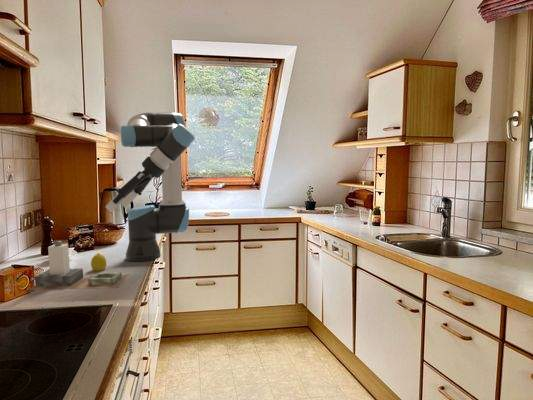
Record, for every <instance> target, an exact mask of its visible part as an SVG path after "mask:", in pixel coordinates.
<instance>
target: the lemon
mask: <svg viewBox="0 0 533 400" xmlns="http://www.w3.org/2000/svg"><path fill="white" fill-rule="evenodd" d="M90 267H91V269H92V271H93V272H102V271H104V270H105V269H106V267H107V259H106V257H105V256H104V255H103V254H100V253H99V252H98V253H97V254H95V255H93V257H92V258H91V261H90Z"/></svg>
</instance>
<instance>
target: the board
mask: <svg viewBox="0 0 533 400" xmlns="http://www.w3.org/2000/svg"><path fill="white" fill-rule="evenodd" d="M132 276H133V274H123V273H122V272H97V273H95V274H94V275H84V268H82V267H81V268H70V272H68V273H67V274H59V275H50V268H49V269H48V270H44V271H43V272H41V273H39V274H37V275H35V276H34V285H33V286H34V287H33V286H32V287H33V288H31V287H30V289H29V288H27V293H28V292H29V294H31V293H33V292H34V291H36V290H77V289H79V290H81V289H82V290H83V289H87V290H88V289H118V288H119V287H120V286H121V285H123V284H124V283H125V282H126V281H128V280H129V279H130V278H131V277H132Z"/></svg>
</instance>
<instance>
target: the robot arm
mask: <svg viewBox="0 0 533 400" xmlns="http://www.w3.org/2000/svg"><path fill="white" fill-rule="evenodd" d="M184 119H185V117H184V116H183V115H182V114H181V113H179V112H143V113H138V114H136V115H133V116H132V117H131V118H129V120H128V121H127V124H126V125H122V126H120V141H121V142H120V143H121V146H122V147H124V148H125V147H126V148H138V147H140V148H143V147H144V148H146V147H147V148H151V147H153V148H154V147H155V148H154V149H153V150H152V151H151V152H150V153H149V156H147V157H146V158H145V159H144V160H143V161H142V162H141V166H142V168H143V169H144V170H142V171H138V172H137V173H136V174H135V175H134V176H133V177H132V178H130V180H128V182H126V183H125V184H124V185H123V186H122V187H120V189H117V190H116V193H117V194H116V195H115V196H113V198H112V199H111V200H110V201H109V202H108V203H107V204H106V205H105V206H104V207H105V208H106V210H108V211H109V212H110V213H113V212H114V211H115V210H116V209H117V207H119V206H120V205H121V206H122V207H124V208H125V209H126V208H127V207H128V206H129V205H130V204H131V203H132V202H133V201H134V199H136V198H137V196H141V195H143V191H144V190H145V189H146V187H147V186H148V185H149V184H150V182H151V181H152V180H153V179H154V178H156V179H159V178H160V177H161V188H162V189H161V192H162V200H161V201H160V203H159V204H158V205H159V207H155V205H154V204H149V205H142V206H137V207H133V208H131V209H128V212H127V221H128V245H127V248H126V253H125V260H126V261H128V260H129V262H149V261H154V260H157V259H159V258H161V256H162V254H161V249H160V247H159V245H158V241H157V235H159V234H160V235H161V234H173V233H176V234H178V233H184V232H186V231H187V229H188V227H189V222H190V207H189V206H187V205H186V202H185V201H184V200H183V192H182V191H183V189H182V187H183V186H182V166H181V165H182V164H181V163H182V162H181V155H182V154H183V153H184V152H185V151H186V149H188V147H190V146H191V144H192V143H193V142H194V141H195V135H194V134H193V132H192V131H190V130H189V129H188V128H187V127H186V123H185V120H184Z"/></svg>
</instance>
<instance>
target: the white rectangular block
mask: <svg viewBox="0 0 533 400" xmlns="http://www.w3.org/2000/svg"><path fill="white" fill-rule="evenodd" d="M47 250H48V266H49V269H50V275H59V274H67V273H68V272H70V269H71V268H70V253H69V244H62V240H57V241H56V240H55V241H54V244H52V245H50V246H48V247H47Z"/></svg>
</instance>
